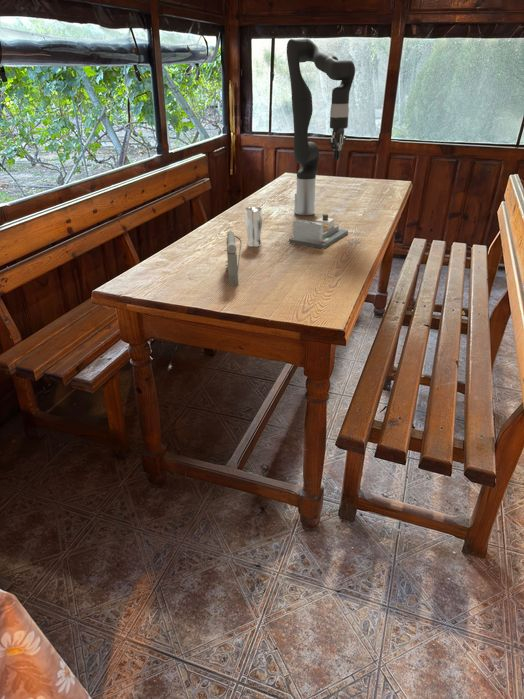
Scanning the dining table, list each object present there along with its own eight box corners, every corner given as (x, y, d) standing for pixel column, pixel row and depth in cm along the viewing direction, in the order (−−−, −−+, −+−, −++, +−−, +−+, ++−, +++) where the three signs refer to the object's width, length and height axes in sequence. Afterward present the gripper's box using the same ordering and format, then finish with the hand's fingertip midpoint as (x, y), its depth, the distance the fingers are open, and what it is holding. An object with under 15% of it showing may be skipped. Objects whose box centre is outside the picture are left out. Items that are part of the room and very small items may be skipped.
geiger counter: (222, 228, 178) (224, 250, 156) (240, 228, 178) (244, 250, 157) (225, 265, 185) (226, 291, 163) (242, 264, 185) (245, 290, 163)
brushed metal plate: (293, 239, 206) (293, 220, 202) (296, 238, 208) (297, 219, 204) (319, 244, 200) (320, 224, 196) (322, 242, 202) (323, 223, 198)
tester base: (289, 242, 208) (289, 234, 206) (315, 228, 225) (315, 221, 223) (323, 248, 200) (323, 240, 198) (347, 233, 218) (348, 225, 216)
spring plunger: (315, 231, 215) (315, 215, 211) (321, 228, 219) (322, 212, 215) (327, 233, 212) (328, 217, 208) (333, 230, 216) (334, 214, 213)
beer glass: (264, 243, 207) (264, 207, 200) (259, 248, 202) (258, 211, 194) (249, 241, 209) (248, 206, 202) (243, 246, 204) (242, 210, 196)
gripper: (337, 114, 212) (335, 157, 221) (324, 116, 203) (322, 161, 211) (354, 114, 209) (350, 158, 217) (340, 117, 199) (338, 162, 208)
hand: (336, 159), depth 214 cm, fingers closed
